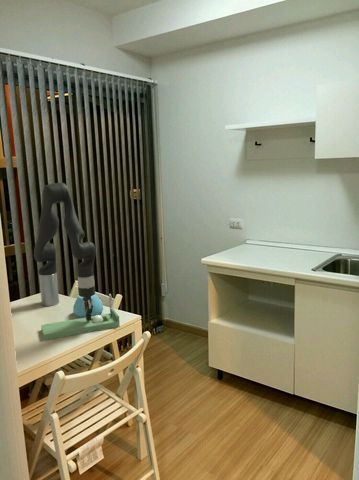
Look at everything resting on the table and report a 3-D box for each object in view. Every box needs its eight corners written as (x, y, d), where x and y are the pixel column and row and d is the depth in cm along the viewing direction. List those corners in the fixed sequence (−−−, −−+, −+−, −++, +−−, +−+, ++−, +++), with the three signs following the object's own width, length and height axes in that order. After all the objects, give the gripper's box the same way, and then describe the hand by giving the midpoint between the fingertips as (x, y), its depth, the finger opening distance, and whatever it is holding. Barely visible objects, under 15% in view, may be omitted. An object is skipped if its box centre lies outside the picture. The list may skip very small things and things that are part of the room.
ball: (97, 325, 197) (89, 321, 194) (103, 316, 197) (94, 311, 195) (100, 328, 192) (91, 324, 190) (106, 319, 193) (97, 315, 191)
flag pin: (110, 317, 196) (108, 293, 194) (111, 317, 197) (110, 293, 194) (112, 320, 193) (110, 296, 191) (113, 319, 194) (112, 295, 191)
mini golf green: (41, 330, 190) (40, 319, 189) (113, 317, 203) (112, 308, 202) (44, 340, 179) (43, 329, 178) (119, 326, 192) (119, 316, 191)
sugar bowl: (68, 313, 210) (66, 292, 208) (93, 306, 220) (92, 285, 217) (82, 321, 199) (81, 299, 197) (109, 313, 209) (107, 292, 206)
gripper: (75, 282, 193) (78, 316, 197) (80, 290, 181) (83, 326, 185) (91, 280, 196) (93, 314, 199) (97, 287, 184) (99, 323, 188)
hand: (88, 320), depth 192 cm, fingers closed
